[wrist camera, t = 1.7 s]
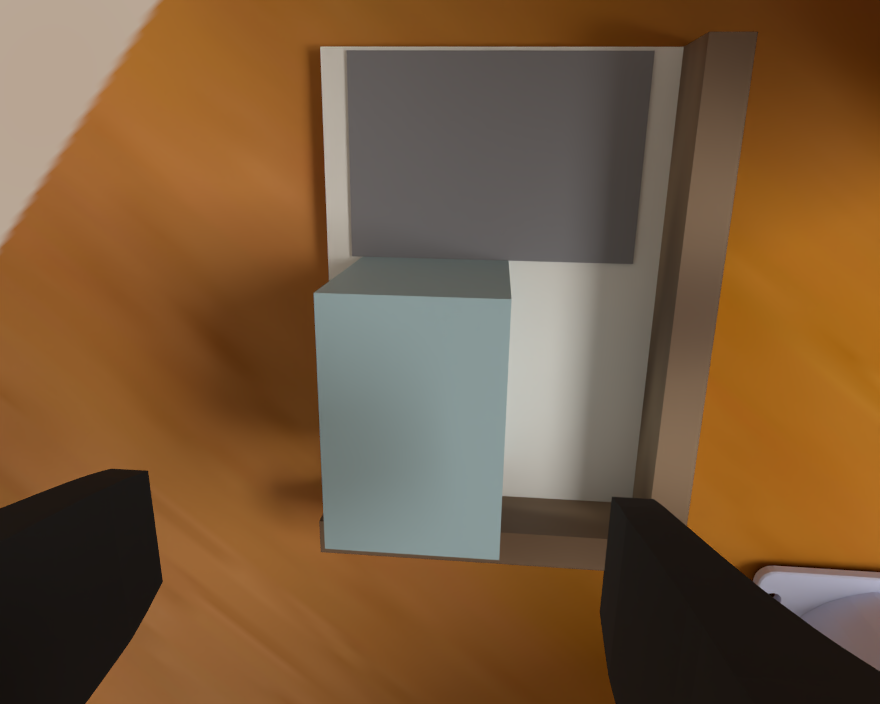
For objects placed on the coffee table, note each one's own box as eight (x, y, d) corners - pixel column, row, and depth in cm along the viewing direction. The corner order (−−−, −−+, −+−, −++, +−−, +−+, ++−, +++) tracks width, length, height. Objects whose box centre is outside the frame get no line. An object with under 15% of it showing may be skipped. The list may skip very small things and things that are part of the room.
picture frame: (657, 525, 20) (679, 575, 18) (341, 506, 21) (320, 551, 18) (719, 49, 16) (758, 32, 14) (325, 49, 17) (296, 32, 14)
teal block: (499, 459, 19) (499, 560, 15) (367, 453, 20) (325, 548, 15) (508, 260, 18) (511, 298, 13) (363, 255, 18) (313, 292, 13)
